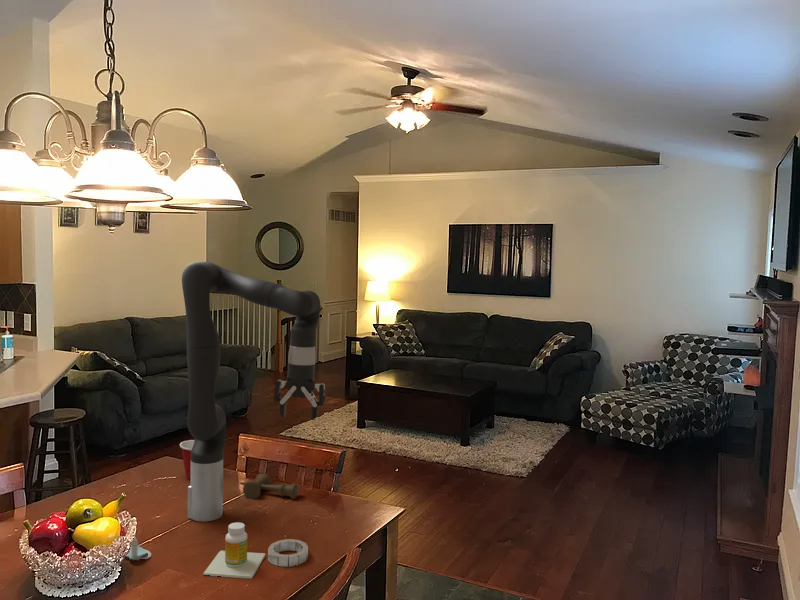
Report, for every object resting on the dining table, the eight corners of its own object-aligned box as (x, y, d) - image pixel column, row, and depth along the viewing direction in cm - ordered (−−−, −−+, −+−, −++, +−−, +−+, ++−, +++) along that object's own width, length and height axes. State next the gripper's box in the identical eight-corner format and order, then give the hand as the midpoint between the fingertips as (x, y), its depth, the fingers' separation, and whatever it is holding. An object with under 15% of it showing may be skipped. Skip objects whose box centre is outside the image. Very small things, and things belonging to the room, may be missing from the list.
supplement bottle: (241, 569, 162) (241, 531, 161) (221, 566, 163) (221, 528, 162) (250, 559, 167) (251, 522, 166) (231, 556, 168) (231, 519, 167)
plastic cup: (210, 482, 221) (211, 447, 220) (177, 483, 219) (177, 448, 218) (213, 471, 231) (213, 438, 230) (181, 472, 229) (181, 439, 228)
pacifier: (141, 549, 172) (119, 556, 168) (142, 526, 172) (120, 532, 168) (156, 558, 168) (134, 566, 163) (157, 534, 167) (134, 541, 163)
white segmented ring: (263, 565, 166) (263, 555, 165) (274, 547, 175) (274, 538, 175) (302, 567, 165) (302, 558, 165) (310, 549, 175) (311, 540, 175)
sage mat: (203, 575, 159) (203, 573, 159) (220, 552, 171) (220, 550, 171) (251, 578, 159) (251, 576, 159) (265, 555, 171) (265, 553, 171)
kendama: (290, 505, 205) (232, 496, 209) (301, 495, 214) (245, 487, 219) (291, 487, 205) (233, 478, 209) (302, 477, 214) (246, 469, 218)
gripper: (273, 361, 181) (270, 419, 182) (323, 365, 180) (320, 423, 181) (280, 357, 188) (277, 412, 190) (329, 361, 187) (325, 417, 188)
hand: (298, 418), depth 185 cm, fingers open, 8 cm apart
